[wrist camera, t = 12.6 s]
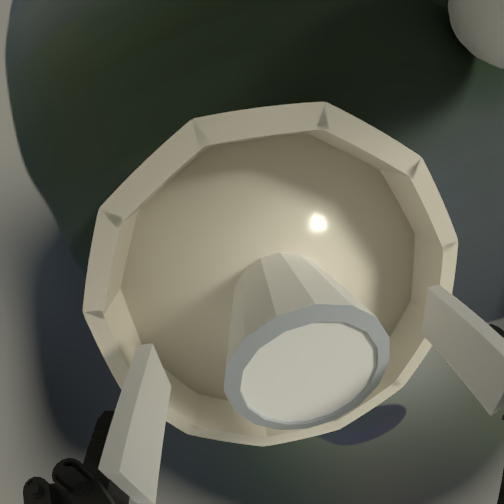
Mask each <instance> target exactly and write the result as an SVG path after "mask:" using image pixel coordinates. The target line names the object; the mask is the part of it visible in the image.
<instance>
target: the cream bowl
mask: <svg viewBox="0 0 504 504" xmlns="http://www.w3.org/2000/svg"><path fill="white" fill-rule="evenodd" d="M457 250H458V239H457V236H456V233H455V231H454V228H453V225H452V223H451V220H450V218H449V215H448V213H447V210H446V208H445V205H444V203H443V201H442V198H441V196H440V194H439V192H438V189H437V187H436V185H435V183H434V181H433V179H432V177H431V175H430V172H429V170H428V168H427V166H426V164H425V162H424V160H423V158H421V156H419V155H418V154H416V153H415V152H413V151H412V150H410V149H409V148H407V147H406V146H404V145H403V144H401V143H399V142H398V141H396V140H395V139H393V138H391V137H390V136H388V135H386V134H385V133H383V132H381V131H380V130H378V129H376V128H374V127H373V126H371V125H369V124H367V123H366V122H364V121H362V120H360V119H358V118H357V117H355V116H353V115H351V114H349V113H347V112H345V111H343V110H341V109H339V108H337V107H335V106H333V105H331V104H329V103H327V102H309V103H296V104H285V105H276V106H267V107H259V108H252V109H245V110H238V111H232V112H225V113H220V114H214V115H209V116H203V117H198V118H193V120H192V119H191V120H190V121H189V122H188V123H186V124H185V125H184V126H183V127H182V128H181V129H179V130H178V131H177V132H176V133H175V134H174V135H173V136H171V137H170V138H169V139H168V140H167V141H166V142H165V143H164V144H163V145H161V146H160V147H159V148H158V149H157V150H156V151H155V152H154V153H153V154H152V155H151V156H150V157H149V158H147V159H146V160H145V161H144V162H143V163H142V164H141V165H140V166H139V167H138V168H137V169H136V170H135V171H134V172H133V173H132V174H131V175H130V176H129V177H128V178H127V179H126V180H125V181H124V182H123V183H122V184H121V185H120V186H119V187H118V188H117V189H116V190H115V192H114V193H113V194H112V195H111V196H110V197H109V198H108V199H107V200H106V201H105V202H104V203H103V204H102V206H101V207H100V208H99V210H98V214H97V219H96V224H95V228H94V234H93V239H92V244H91V250H90V256H89V262H88V269H87V276H86V284H85V292H84V301H83V314H84V317H85V319H86V321H87V323H88V326H89V328H90V330H91V332H92V335H93V337H94V339H95V341H96V343H97V345H98V347H99V349H100V351H101V353H102V355H103V357H104V359H105V361H106V363H107V365H108V367H109V369H110V370H111V373H112V374H113V376H114V378H115V380H116V382H117V383H118V385H119V387H120V389H122V388H123V385H124V382H125V379H126V376H127V373H128V370H129V367H130V365H131V362H132V359H133V356H134V353H135V351H136V348H137V345H142V344H151V343H153V345H154V347H155V350H156V352H157V354H158V357H159V359H160V361H161V364H162V366H163V368H164V371H165V373H166V375H167V377H168V380H169V382H170V384H171V392H170V398H169V404H168V411H167V417H166V421H167V422H168V423H170V424H172V425H173V426H175V427H176V428H178V429H180V430H181V431H183V432H185V433H186V434H189V435H194V436H199V437H204V438H209V439H215V440H220V441H226V442H233V443H240V444H248V445H256V446H269V445H275V444H280V443H285V442H290V441H295V440H300V439H304V438H308V437H313V436H317V435H321V434H325V433H328V432H332V431H336V430H339V429H341V428H342V427H344V426H346V425H347V424H349V423H351V422H352V421H354V420H356V419H357V418H359V417H360V416H362V415H363V414H365V413H367V412H368V411H370V410H371V409H373V408H374V407H376V406H377V405H379V404H380V403H381V402H383V401H384V400H386V399H387V398H389V397H390V396H391V395H393V394H394V393H395V392H397V391H398V390H399V389H401V388H402V386H404V385H405V384H406V382H407V381H408V380H409V378H410V377H411V376H412V374H413V373H414V371H415V370H416V369H417V367H418V366H419V364H420V363H421V362H422V360H423V359H424V357H425V356H426V354H427V353H428V351H429V350H430V348H431V347H432V345H431V343H430V342H429V341H428V340H427V339H426V338H425V337H424V336H423V335H422V333H421V329H422V323H423V317H424V310H425V303H426V296H427V288H428V287H432V286H435V285H438V284H439V285H441V286H442V287H443V288H444V289H446V290H447V291H448V292H449V293H451V294H452V291H453V284H454V277H455V269H456V260H457ZM278 252H286V253H298V254H301V255H303V256H305V257H306V258H308V259H310V260H312V261H314V262H315V263H317V264H318V265H319V266H320V267H321V268H322V269H323V270H325V271H326V272H327V273H328V274H329V275H330V276H331V277H333V278H334V279H335V280H336V281H337V282H338V283H339V284H340V285H342V286H343V287H344V288H345V289H346V290H347V291H348V292H349V293H350V294H352V295H353V296H354V297H355V298H356V299H357V300H358V301H359V302H360V303H362V304H363V305H364V306H365V307H366V308H367V309H368V310H369V311H370V312H371V313H373V314H374V315H375V316H376V317H377V318H378V320H379V321H380V323H381V325H382V326H383V328H384V329H385V331H386V333H387V334H388V336H389V338H390V362H389V364H388V366H387V368H386V371H385V373H384V375H383V377H382V379H381V381H380V383H379V385H378V386H377V387H376V388H375V389H374V390H373V392H372V393H371V394H370V395H369V396H368V397H367V398H366V399H365V400H364V401H363V402H362V403H361V404H360V405H359V406H357V407H356V408H354V409H352V410H351V411H349V412H347V413H346V414H344V415H343V416H341V417H339V418H338V419H336V420H333V421H330V422H327V423H324V424H321V425H318V426H314V427H311V428H307V429H292V430H277V429H273V428H268V427H264V426H260V425H256V424H253V423H252V422H250V421H249V420H247V419H246V418H244V417H243V416H241V415H240V414H238V413H237V412H235V411H234V409H233V407H232V405H231V404H230V402H229V400H228V398H227V396H226V394H225V392H224V382H225V371H226V362H227V352H228V342H229V333H230V324H231V314H232V305H233V296H234V287H235V285H236V283H237V281H238V280H239V278H240V276H241V274H242V273H243V271H244V270H245V269H246V268H247V267H249V266H250V265H251V264H253V263H254V262H255V261H256V260H258V259H259V258H261V257H264V256H268V255H271V254H274V253H278Z"/></svg>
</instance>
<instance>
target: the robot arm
mask: <svg viewBox="0 0 504 504" xmlns="http://www.w3.org/2000/svg"><path fill="white" fill-rule="evenodd" d="M421 333H422V335H423V336H424V337H425V338H426V339H427V340H428V341H429V342H430V343H431V345H432V346H433V347H434V348H435V349H436V350H437V351H438V353H439V354H440V355H441V356H442V357H443V358H444V359H445V361H446V362H447V363H448V364H449V365H450V366H451V368H452V369H453V370H454V371H455V372H456V374H457V375H458V376H459V377H460V378H461V380H463V382H464V383H465V384H466V386H467V387H468V388H469V389H470V390H471V392H472V393H473V394H474V395H475V397H476V398H477V399H478V400H479V401H480V403H481V404H482V405H483V407H484V408H485V409H486V411H487V412H488V413H489V414H490V416H491V415H493V414H494V413H496V412H497V411H499V410H500V409H502V408H503V406H504V331H503V330H502V329H500V328H499V327H497V326H495V325H492V324H490V325H488V324H487V323H486V322H485V321H483V320H482V319H481V318H480V317H479V316H478V315H476V314H475V313H474V312H473V311H472V310H470V309H469V308H468V307H467V306H466V305H464V304H463V303H462V302H461V301H459V300H458V299H457V298H456V297H454V296H453V295H452V294H451V293H449V292H448V291H447V290H446V289H444V288H443V287H442V286H441V285H439V284H438V285H435V286H432V287H428V288H427V296H426V303H425V310H424V317H423V323H422V329H421ZM170 392H171V384H170V382H169V380H168V377H167V375H166V373H165V371H164V368H163V366H162V364H161V361H160V359H159V357H158V354H157V352H156V350H155V347H154V345H153V343H151V344H142V345H137V348H136V351H135V353H134V356H133V359H132V362H131V365H130V367H129V370H128V373H127V376H126V379H125V382H124V385H123V388H122V391H121V394H120V397H119V400H118V403H117V406H116V409H115V411H104V413H103V414H102V415H101V416H100V418H99V419H98V420H97V423H96V426H95V429H94V432H93V434H92V438H91V439H92V440H91V441H90V444H89V447H88V450H87V453H86V456H85V460H84V463H83V464H82V463H81V462H80V461H78V460H76V459H72V458H67V459H64V460H61V461H60V462H59V463H57V464H56V466H55V467H54V469H53V472H52V479H53V481H54V482H55V483H52V484H49V483H48V482H47V481H46V480H45V479H43V478H41V477H33V478H31V479H29V480H28V481H27V482H26V483H25V486H24V489H23V496H24V504H128V503H129V497H130V498H131V499H132V500H133V501H135V502H136V503H143V504H155V503H156V493H157V484H158V476H159V467H160V459H161V452H162V444H163V437H164V430H165V424H166V417H167V411H168V404H169V398H170ZM502 420H504V415H503V417H502ZM497 504H504V470H503V477H502V483H501V488H500V493H499V497H498V502H497Z"/></svg>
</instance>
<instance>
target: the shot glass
mask: <svg viewBox="0 0 504 504" xmlns="http://www.w3.org/2000/svg"><path fill="white" fill-rule="evenodd" d="M389 362H390V338H389V336H388V334H387V333H386V331H385V329H384V328H383V326H382V325H381V323H380V321H379V320H378V318H377V317H376V316H375V315H374V314H373V313H371V312H370V311H369V310H368V309H367V308H366V307H365V306H364V305H363V304H362V303H360V302H359V301H358V300H357V299H356V298H355V297H354V296H353V295H352V294H350V293H349V292H348V291H347V290H346V289H345V288H344V287H343V286H342V285H340V284H339V283H338V282H337V281H336V280H335V279H334V278H333V277H331V276H330V275H329V274H328V273H327V272H326V271H325V270H323V269H322V268H321V267H320V266H319V265H318V264H317V263H315V262H314V261H312V260H310V259H308V258H306V257H305V256H303V255H301V254H298V253H286V252H278V253H274V254H271V255H268V256H264V257H261V258H259V259H258V260H256V261H255V262H254V263H253V264H251V265H250V266H249V267H247V268H246V269H245V270H244V271H243V273H242V274H241V276H240V278H239V280H238V281H237V283H236V285H235V287H234V296H233V305H232V314H231V324H230V333H229V342H228V352H227V362H226V371H225V382H224V392H225V394H226V396H227V398H228V400H229V402H230V404H231V405H232V407H233V409H234V411H235V412H237V413H238V414H240V415H241V416H243V417H244V418H246V419H247V420H249V421H250V422H252V423H253V424H256V425H260V426H264V427H268V428H273V429H277V430H292V429H307V428H311V427H314V426H318V425H321V424H324V423H327V422H330V421H333V420H336V419H338V418H339V417H341V416H343V415H344V414H346V413H347V412H349V411H351V410H352V409H354V408H356V407H357V406H359V405H360V404H361V403H362V402H363V401H364V400H365V399H366V398H367V397H368V396H369V395H370V394H371V393H372V392H373V390H374V389H375V388H376V387H377V386H378V385H379V383H380V381H381V379H382V377H383V375H384V373H385V371H386V368H387V366H388V364H389Z"/></svg>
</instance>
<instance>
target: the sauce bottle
mask: <svg viewBox="0 0 504 504" xmlns="http://www.w3.org/2000/svg"><path fill="white" fill-rule="evenodd" d="M448 13H449V16H450V23H451V26H452V29H453V31H454V33H455V35H456V36H457V38H458V39H459V41H460V42H461V43H462V44H463V45H464V46H465V47H466V48H467V49H468V50H469V51H470V52H471V53H472V54H473V55H474V56H476V57H477V58H479V59H481V60H483V61H485V62H487V63H490V64H492V65H494V66H497V67H500V68H503V69H504V0H449V1H448Z"/></svg>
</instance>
